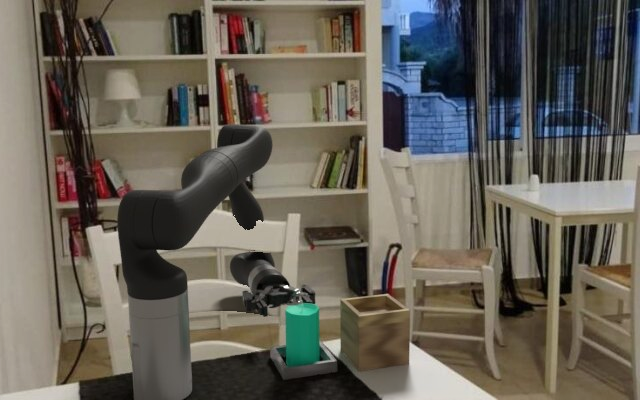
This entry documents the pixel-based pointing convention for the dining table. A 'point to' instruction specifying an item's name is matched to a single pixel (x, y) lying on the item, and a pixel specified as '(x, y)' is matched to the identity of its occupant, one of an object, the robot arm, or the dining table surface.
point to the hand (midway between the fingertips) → (287, 309)
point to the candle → (302, 334)
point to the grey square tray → (303, 369)
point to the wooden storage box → (375, 331)
